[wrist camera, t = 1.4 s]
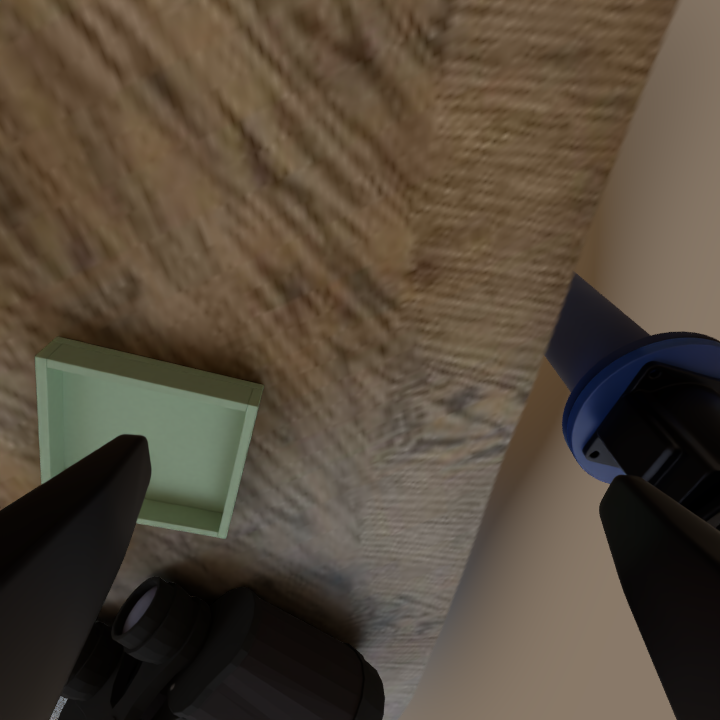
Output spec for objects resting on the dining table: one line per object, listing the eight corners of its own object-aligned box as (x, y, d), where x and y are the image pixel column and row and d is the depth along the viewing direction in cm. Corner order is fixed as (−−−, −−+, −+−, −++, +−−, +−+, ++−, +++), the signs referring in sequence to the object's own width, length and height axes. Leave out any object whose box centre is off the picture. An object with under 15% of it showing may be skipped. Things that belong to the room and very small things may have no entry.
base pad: (264, 384, 24) (258, 406, 22) (232, 513, 29) (225, 539, 27) (56, 335, 22) (33, 355, 21) (60, 481, 27) (42, 507, 25)
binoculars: (192, 718, 44) (156, 875, 35) (15, 635, 35) (-89, 818, 26) (394, 648, 38) (408, 818, 29) (240, 527, 29) (197, 720, 20)
